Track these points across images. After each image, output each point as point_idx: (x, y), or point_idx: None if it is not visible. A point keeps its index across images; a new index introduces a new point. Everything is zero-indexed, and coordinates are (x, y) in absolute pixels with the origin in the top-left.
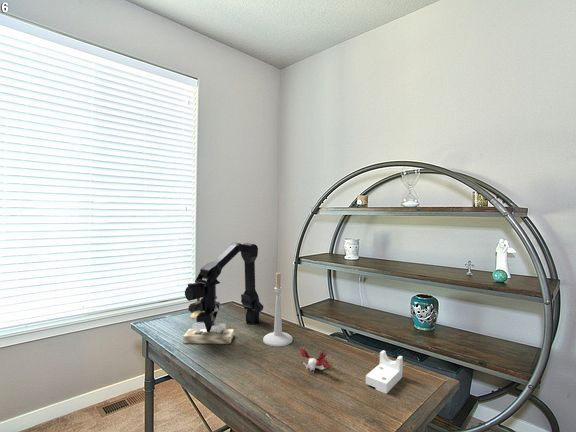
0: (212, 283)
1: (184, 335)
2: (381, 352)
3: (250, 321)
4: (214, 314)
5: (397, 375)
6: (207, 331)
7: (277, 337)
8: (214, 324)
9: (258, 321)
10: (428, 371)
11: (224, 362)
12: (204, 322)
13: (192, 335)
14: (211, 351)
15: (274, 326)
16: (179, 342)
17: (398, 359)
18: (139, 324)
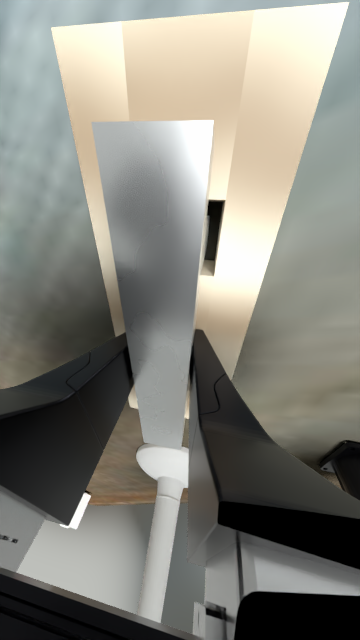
0: None
1: (77, 40)
2: (69, 526)
3: (348, 462)
4: (189, 534)
5: None
6: None
7: (152, 475)
8: (160, 404)
9: (336, 473)
10: (101, 505)
11: (14, 361)
12: (38, 380)
13: (100, 184)
14: (60, 322)
15: (160, 512)
16: (113, 6)
17: (60, 524)
18: None
